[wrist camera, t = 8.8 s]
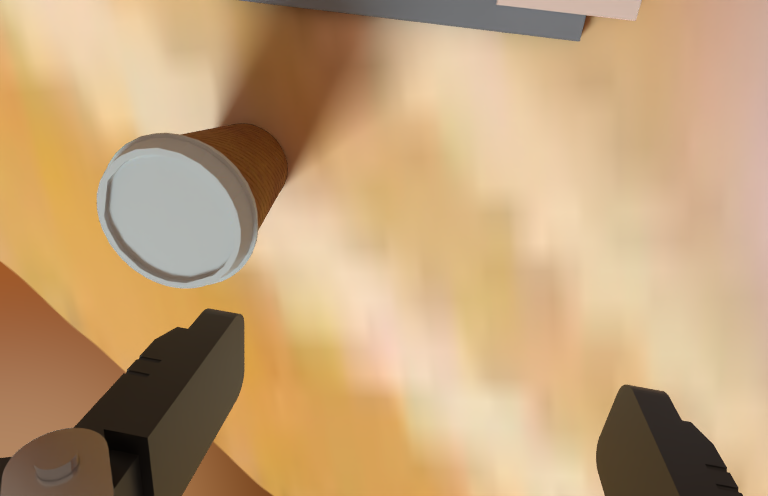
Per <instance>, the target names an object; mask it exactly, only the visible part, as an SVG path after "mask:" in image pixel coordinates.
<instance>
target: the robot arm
mask: <svg viewBox="0 0 768 496" xmlns="http://www.w3.org/2000/svg"><path fill="white" fill-rule="evenodd" d="M243 378H244V318H243V316H242V315H241V314H236V313H231V312H225V311H220V310H214V309H205V310H204V311H203V312H202V313H201V314H200V316H199V317H198V318H197V319H196V320H195V322H194V323H193V324H192V325H191V326H190V327H189V329H186V328H180V327H176V328H175V329H173V330H171V331H169V332H168V333H166V334H164V335H162V336H160V337H159V338H157V339H155V340H154V341H153V342H152V343H151V344H150V345H149V347H148V348H147V349H146V350H145V351H144V352H143V353H142V354H141V355H140V358H139V360H138V359H137V360H136V361H135V362H134V363H133V364H132V365H131V366H130V367H129V368H128V369H127V373H126V374H123V375H122V376H121V377H120V378H119V379H118V380H117V381H116V382H115V384H114V385H113V386H112V387H111V388H110V389H109V390H108V391H107V392H106V393H105V395H104V396H103V397H102V398H101V399H100V400H99V401H98V402H97V403H96V404H95V405H94V406H93V408H92V409H91V410H90V411H89V412H88V413H87V414H86V415H85V416H84V417H83V419H82V420H81V421H80V422H79V423H78V424H77V425H76V426H75V427H74V428H67V429H61V430H57V431H53V432H50V433H47V434H45V435H42V436H40V437H38V438H36V439H34V440H32V441H31V442H29V443H28V444H26V445H25V446H23V447H22V448H21V449H20V450H18V452H16V453H15V454H14V455H13V457H6V458H0V496H182V494H183V493H184V491H185V489H186V487H187V486H188V484H189V482H190V481H191V479H192V477H193V475H194V474H195V472H196V470H197V468H198V467H199V465H200V463H201V461H202V459H203V458H204V456H205V454H206V453H207V451H208V449H209V447H210V445H211V444H212V442H213V440H214V439H215V437H216V435H217V433H218V432H219V430H220V428H221V426H222V425H223V423H224V421H225V419H226V418H227V416H228V414H229V412H230V411H231V409H232V407H233V405H234V404H235V402H236V400H237V398H238V396H239V393H240V390H241V387H242V383H243ZM596 463H597V470H598V474H599V477H600V480H601V484H602V487H603V491H604V494H605V496H743V495H742V493H739V492H738V486H737V485H736V483H735V481H734V479H733V478H732V476H731V474H730V473H728V472H727V467H726V465H725V464H724V462H723V460H722V459H721V457H720V455H719V453H718V452H717V450H716V448H715V446H714V445H713V444H712V443H711V442H710V441H709V440H708V439H707V438H706V437H705V436H704V435H703V434H702V433H701V432H700V431H699V430H698V429H697V428H696V427H695V426H694V425H693V424H692V423H691V422H687V421H682V420H681V418H680V416H679V414H678V412H677V411H676V409H675V407H674V405H673V403H672V401H671V399H670V397H669V396H668V395H667V393H665V392H664V391H659V390H653V389H648V388H642V387H636V386H631V385H623V386H622V387H621V388H620V389H619V391H618V393H617V396H616V398H615V401H614V403H613V405H612V408H611V410H610V413H609V415H608V418H607V420H606V422H605V425H604V427H603V430H602V432H601V435H600V437H599V440H598V444H597V451H596Z"/></svg>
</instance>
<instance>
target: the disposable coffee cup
mask: <svg viewBox="0 0 768 496" xmlns="http://www.w3.org/2000/svg"><path fill="white" fill-rule="evenodd" d="M286 177H287V161H286V158H285V154H284V152H283V150H282V148H281V146H280V145H279V143H278V142H277V141H276V139H274V138H273V137H272V136H271V135H270V134H269V133H268V132H266V131H264V130H263V129H261V128H259V127H256V126H254V125H250V124H234V125H228V126H223V127H218V128H213V129H207V130H202V131H197V132H192V133H187V134H181V135H179V134H171V133H156V134H151V135H146V136H141V137H139V138H137V139H135V140H133V141H131V142H129V143H127V144H125V145H124V146H123V147H122V148H121V149H120V150H119V151H118V152H117V153H116V154H115V155H114V157H113V158H112V160H111V161H110V163H109V164H108V167H107V169H106V171H105V172H104V174H103V176H102V178H101V180H100V183H99V188H98V192H97V211H98V216H99V221H100V223H101V226H102V229H103V231H104V233H105V235H106V237H107V239H108V241H109V243H110V245H111V246H112V247H113V248H114V250H115V251H116V252H117V253H118V255H119V256H120V257H121V258H122V259H123V260H124V261H125V262H126V263H127V264H128V265H129V266H130V267H131V268H132V269H134V270H135V271H137V272H138V273H140V274H141V275H143V276H145V277H146V278H148V279H150V280H152V281H155V282H157V283H159V284H162V285H166V286H170V287H176V288H197V287H202V286H205V285H210V284H214V283H217V282H221V281H223V280H225V279H227V278H229V277H231V276H233V275H234V274H235V273H237V272H238V271H239V270H240V269H241V268H242V267H243V266H244V265H245V264H246V262H247V261H248V259H249V258H250V256H251V254H252V252H253V249H254V247H255V244H256V241H257V234H258V230H259V228H260V226H261V224H262V223H263V221H264V219H265V217H266V215H267V214H268V212H269V210H270V209H271V207H272V205H273V203H274V201H275V199H276V198H277V196H278V194H279V192H280V191H281V189H282V188H283V186H284V184H285V181H286Z"/></svg>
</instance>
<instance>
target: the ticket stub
mask: <svg viewBox="0 0 768 496" xmlns="http://www.w3.org/2000/svg"><path fill="white" fill-rule="evenodd" d="M641 1H642V0H497V2H496V5H503V6H511V7H520V8H528V9H537V10H546V11H554V12H563V13H571V14H580V15H588V16H597V17H606V18H614V19H623V20H633V21H636V18H637V15H638V11H639V8H640V4H641Z"/></svg>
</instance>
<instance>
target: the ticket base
mask: <svg viewBox="0 0 768 496" xmlns="http://www.w3.org/2000/svg"><path fill="white" fill-rule="evenodd" d="M241 1H249V2H257V3H266V4H274V5H282V6H291V7H299V8H307V9H315V10H324V11H332V12H340V13H348V14H357V15H365V16H373V17H381V18H390V19H398V20H406V21H415V22H423V23H431V24H439V25H448V26H456V27H464V28H472V29H481V30H489V31H497V32H505V33H514V34H522V35H530V36H538V37H547V38H555V39H563V40H572V41H580V38H581V34H582V30H583V26H584V22H585V18H586V15H580V14H571V13H563V12H554V11H546V10H537V9H528V8H520V7H511V6H503V5H496V2H497V0H241Z"/></svg>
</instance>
